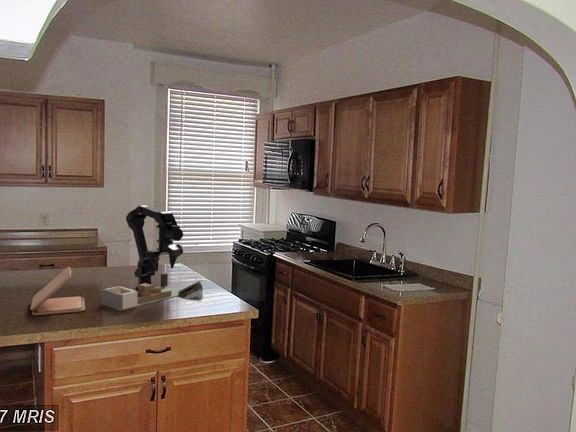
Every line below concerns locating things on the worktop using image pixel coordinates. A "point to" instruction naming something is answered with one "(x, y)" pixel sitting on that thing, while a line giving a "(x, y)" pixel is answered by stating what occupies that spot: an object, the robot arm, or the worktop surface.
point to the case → (56, 305)
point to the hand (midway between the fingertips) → (164, 269)
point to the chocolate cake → (192, 291)
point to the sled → (147, 288)
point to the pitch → (155, 296)
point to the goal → (119, 298)
